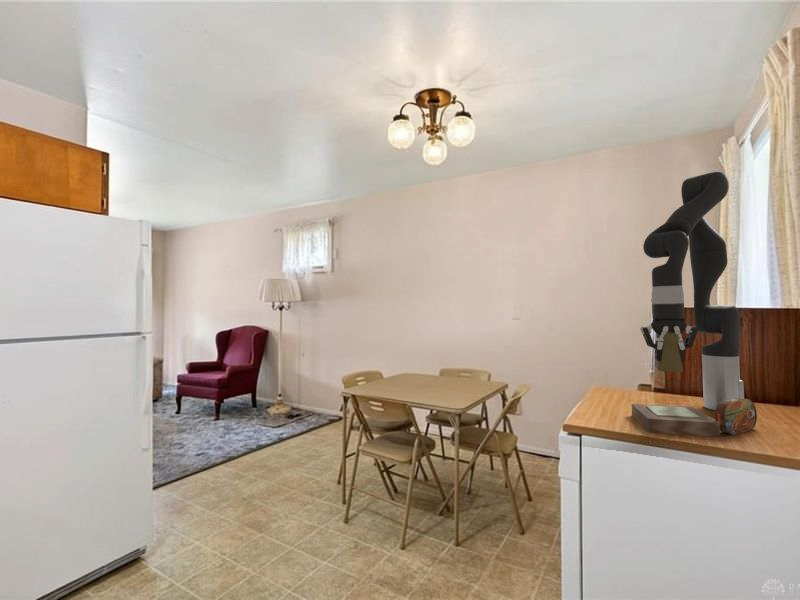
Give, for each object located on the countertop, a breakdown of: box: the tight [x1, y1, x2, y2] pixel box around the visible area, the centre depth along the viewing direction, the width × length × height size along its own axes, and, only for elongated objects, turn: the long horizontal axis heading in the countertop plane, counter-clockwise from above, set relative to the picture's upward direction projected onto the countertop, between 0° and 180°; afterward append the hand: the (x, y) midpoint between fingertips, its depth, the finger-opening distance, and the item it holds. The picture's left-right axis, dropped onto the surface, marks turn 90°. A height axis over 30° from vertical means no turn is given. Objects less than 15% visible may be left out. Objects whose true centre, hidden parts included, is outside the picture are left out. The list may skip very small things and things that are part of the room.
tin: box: [714, 398, 758, 436], centre depth 102 cm, size 15×3×8 cm, turn 114°
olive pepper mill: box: [656, 332, 684, 373], centre depth 108 cm, size 6×6×11 cm
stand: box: [631, 403, 721, 438], centre depth 108 cm, size 16×16×4 cm
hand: (669, 362), depth 108 cm, fingers closed on olive pepper mill, 4 cm apart
